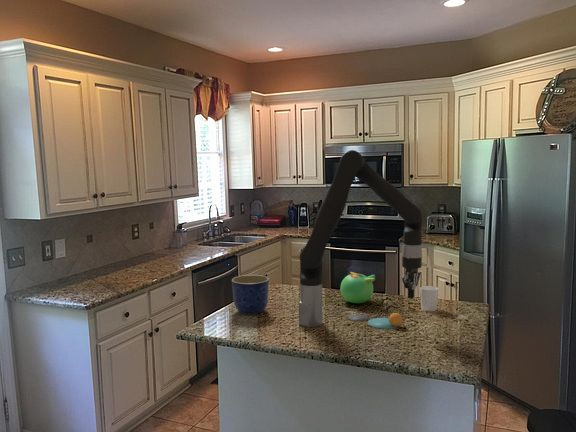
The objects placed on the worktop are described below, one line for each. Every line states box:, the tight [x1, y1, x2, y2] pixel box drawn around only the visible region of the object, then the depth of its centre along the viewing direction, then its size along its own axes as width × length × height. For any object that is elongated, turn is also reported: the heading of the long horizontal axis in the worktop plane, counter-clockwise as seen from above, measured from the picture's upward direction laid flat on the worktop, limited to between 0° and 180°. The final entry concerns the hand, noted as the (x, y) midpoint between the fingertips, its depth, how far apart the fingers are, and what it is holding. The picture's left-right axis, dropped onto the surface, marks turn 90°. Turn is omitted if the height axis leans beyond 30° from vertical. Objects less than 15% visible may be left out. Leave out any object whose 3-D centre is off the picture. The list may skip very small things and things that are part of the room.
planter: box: [231, 274, 270, 315], centre depth 214 cm, size 17×17×15 cm
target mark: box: [367, 317, 399, 330], centre depth 196 cm, size 13×13×1 cm
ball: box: [388, 312, 404, 328], centre depth 193 cm, size 6×6×6 cm
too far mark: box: [347, 314, 370, 323], centre depth 204 cm, size 9×9×1 cm
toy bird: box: [340, 271, 376, 304], centre depth 227 cm, size 18×17×15 cm
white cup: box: [419, 285, 439, 312], centre depth 214 cm, size 8×8×10 cm
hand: (410, 298), depth 188 cm, fingers closed
